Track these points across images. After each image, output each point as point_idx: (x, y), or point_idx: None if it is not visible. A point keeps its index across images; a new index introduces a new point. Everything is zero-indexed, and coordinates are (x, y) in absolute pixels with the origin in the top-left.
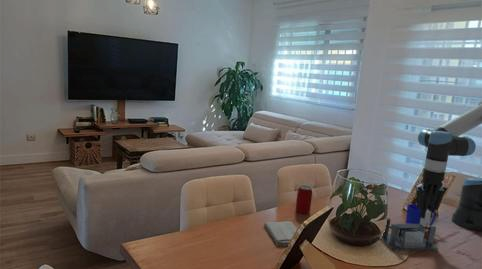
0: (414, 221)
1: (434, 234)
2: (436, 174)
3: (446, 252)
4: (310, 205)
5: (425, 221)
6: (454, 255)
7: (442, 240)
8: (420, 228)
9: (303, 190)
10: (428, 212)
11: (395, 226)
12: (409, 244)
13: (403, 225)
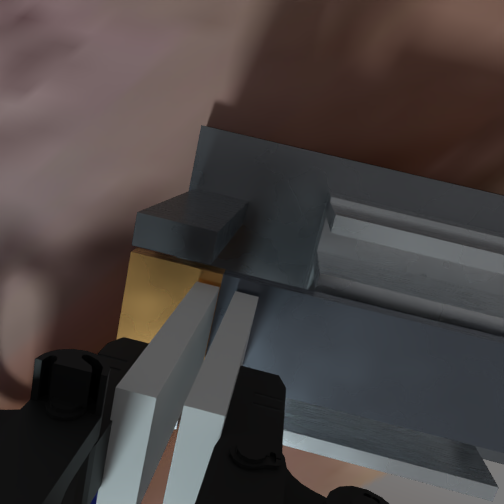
0: (94, 500)
1: (172, 200)
2: None
3: (156, 76)
4: None
5: (241, 324)
6: (128, 14)
7: (5, 252)
8: (316, 294)
9: None
10: (160, 407)
11: None
12: (464, 225)
13: (492, 405)
